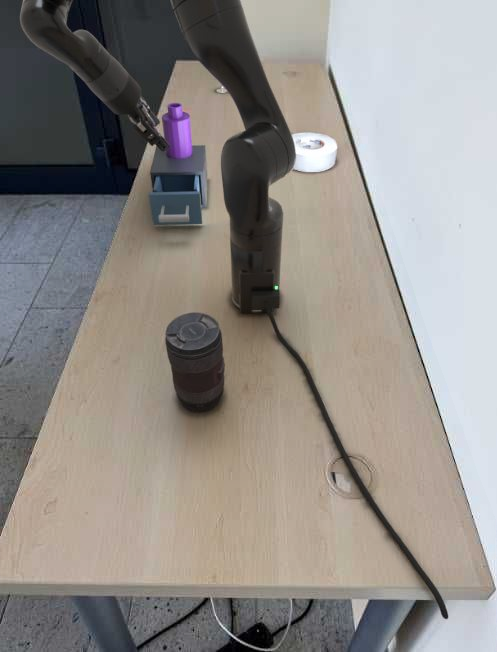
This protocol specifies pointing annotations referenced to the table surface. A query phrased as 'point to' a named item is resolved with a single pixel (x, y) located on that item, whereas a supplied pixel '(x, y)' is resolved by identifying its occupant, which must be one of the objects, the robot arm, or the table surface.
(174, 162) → the grey cabinet
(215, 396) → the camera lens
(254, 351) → the table surface
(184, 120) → the bottle
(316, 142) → the tape roll
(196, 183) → the drawer
